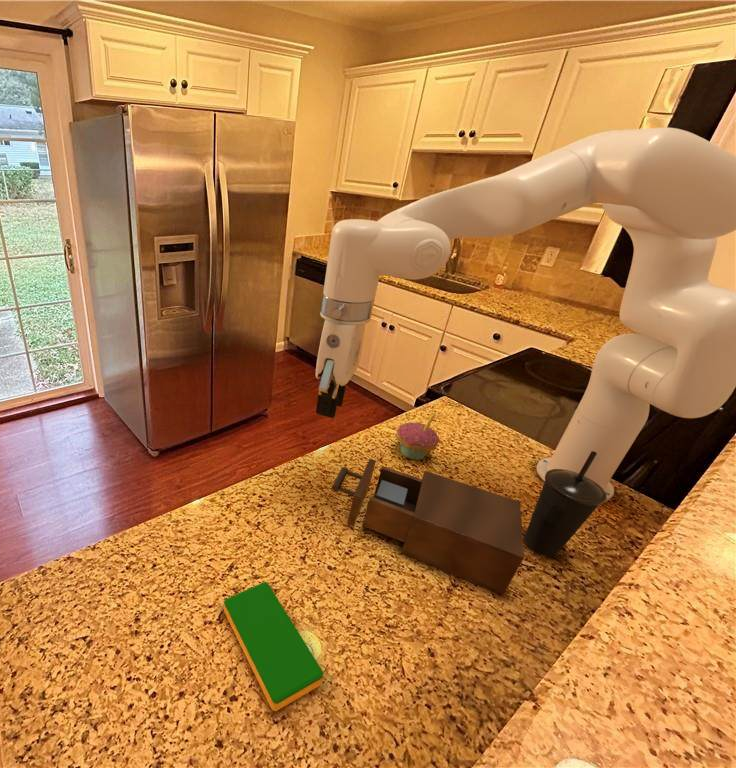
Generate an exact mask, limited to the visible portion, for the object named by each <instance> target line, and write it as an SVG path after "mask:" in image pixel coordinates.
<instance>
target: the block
mask: <svg viewBox="0 0 736 768" xmlns="http://www.w3.org/2000/svg"><path fill="white" fill-rule="evenodd" d="M407 491H408V489H406V488H404V487H401V486H398V485H395V484H392V483H389V482H387V481H384V480H382V481H381V483H380V486H379V489H378V492H377V494H376V499H379V500H382V501H384V502H387V503H390V504H392V505H395V506H398V507H400V508H403V506H404V502H405V498H406V495H407Z"/></svg>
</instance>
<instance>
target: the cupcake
mask: <svg viewBox="0 0 736 768" xmlns="http://www.w3.org/2000/svg"><path fill="white" fill-rule="evenodd" d="M436 414H437V411H434V413H431V415H430V416H429V419H428V420H427V422H426V423H424V424H423V423H420V422H415V421H414V422H410V421H409V422H406V423H403V424H401V425H399V427H397V429H396V434H395V438H396V440H397V442H399V443H400V451H401V454H402V455H403V456H405V457H406V458H408V459H411V460H417V461H418V460H422V459H424V458H425V457H426V456H427V454H428V453H430V452H431V451H435V450H436V448H437V447H438V445H439V444H440V441H441V439H440V438H439V436H438V435H437V432H436V431H435V430H434V429H433V428H432V427H431V424H432V422H433V420H434V419H435V417H436Z"/></svg>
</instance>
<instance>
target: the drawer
mask: <svg viewBox="0 0 736 768" xmlns="http://www.w3.org/2000/svg"><path fill="white" fill-rule="evenodd" d="M376 462H377V460H376V459H373V458H369V459H368V461H367V463H366V465H365V468H364V470H363V472H362V475H361V474H359V473H355V472H353V471H350V470H349V468H347V467H345V466H342V467H341V468H340V469H339V471H338V474H337V475H336V477H335V479H334V481H333V483H332V485H331V491H332V492H334V493H338V492H341V493H344V494H346V495H349V496H352V501H351V505H350V509H349V513H348V518H347V522H346V524H347V525H349V526H351V527H355V525H356V522H357V519H358V518H359V514H360V512H361V510H362V506H363V505H364V502H365V499H366V497H367V495H368V492H369V489H370V486H371V482H372V478H373V476H374V475H373V474H374V471H375V470H374V469H375V466H376V464H377V463H376ZM347 476H349V477H352V478H355V479H358V480H359V482H358V483H357V484H358V485H357V487H356V489H355V491H354V490H351V489H348V488H347V487H344V486H343V483H344V482H345V479H346V477H347ZM382 480H384V481H387V482H389V483H392V484H395V485H398V486H401V487H404V488H406V489H408V491H407V495H406V498H405V502H404V506H403V508H400V507H398V506H395V505H392V504H390V503H387V502H384V501H382V500H379V499H376V494H377V492H378V489H379V486H380V483H381V481H382ZM421 483H422V478H420V477H416V476H414V475H411V474H407V473H405V472H401V471H398V470H395V469H393V468H390V467H386V466H384V465H382V466H381V469H380V471H379V476H378V479H377V483H376V487H375V490H374V493H373V495H372V496H370V497H369V500H368V503H367V507H366V512H365V515H364V519H363V523H362V526H363V527H365V528H368V529H370V530H372V531H375V532H377V533H379V534H382V535H384V536H387V537H389V538H392V539H393V540H397V541H400V542H402V543H403V544H404V543H405V540H406V537H407V534H408V531H409V528H410V525H411V522H412V519H413V517H414V512H415V508H416V504H417V500H418V495H419V491H420V487H421Z"/></svg>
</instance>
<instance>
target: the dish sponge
mask: <svg viewBox="0 0 736 768" xmlns="http://www.w3.org/2000/svg"><path fill="white" fill-rule="evenodd" d="M223 612H224V613H223V614H224V615H225V617H226V619H227V620H228V623H229V625H230V627H231V629H232V631H233V633H234V635H235V638H236V640H237V642H238V643H239V646H240V648H241V649H242V652H243V654H244V656H245V657H246V660H247V661H248V665H249V666H250V668H251V671H252V672H253V674H254V676H255V679H256V681H257V682H258V684H259V686H260V688H261V691H262V693H263V695H264V697H265V699H266V701H267V703H268V705H269V707H270V709H271V710H272V711H273V712H278V711H280V710H281V709H282V708H284V707H286V706H289V704H291V703H293V702H295V701H296V700H298V699H300V698H301V697H303V696H305V695H307V694H308V693H310V692H312V691H313V690H316V689H317V688H318V687H320V686H321V684H322V681H323V677H324V676H323V675H324V671H323V670H322V668H321V666H320V665H319V663H318V661H317V660H316V658H315V657H314V655H313V654H312V652H311V650H310V649H309V647H308V645H307V644H306V642H305V640H304V639H303V637H302V636H301V634H300V632H299V631H298V628H297V627H296V626H295V624H294V622H293V621H292V619H291V618H290V616H289V615H288V613H287V612H286V610H285V608H284V607H283V605H282V604H281V602H280V600H279V598H278V597H277V595H276V594H275V592H274V591H273V589H272V587H271V586H270V584H269V583H268V582H266V581H263V582H261V583H259V584H257V585H254V586H252V587H250V588H247V589H245V590H243V591H241V592H239V593H236V594H234V595H231V596H228V597H227V598H225V599H224V601H223Z"/></svg>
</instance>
